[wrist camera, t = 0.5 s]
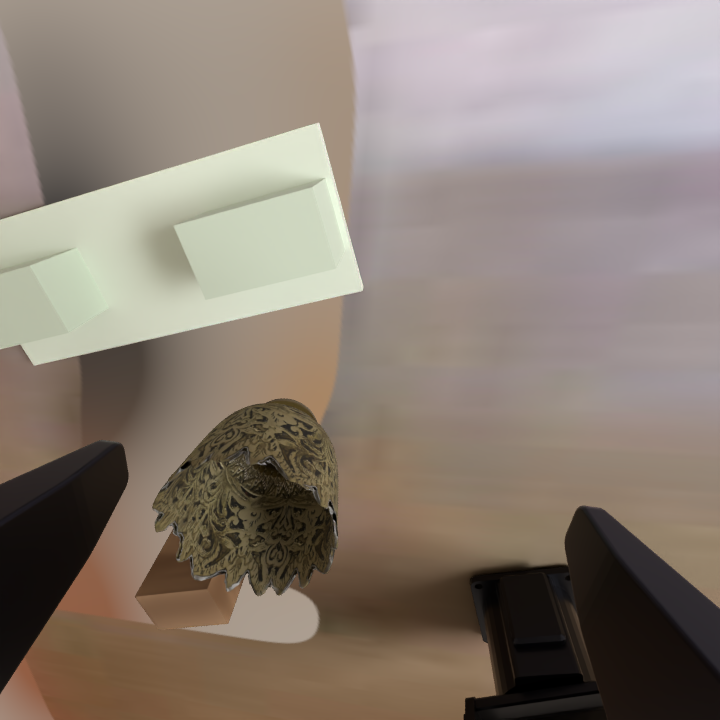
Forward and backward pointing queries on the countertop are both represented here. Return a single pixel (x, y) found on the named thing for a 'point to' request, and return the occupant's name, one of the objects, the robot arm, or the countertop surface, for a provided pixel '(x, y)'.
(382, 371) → the countertop surface
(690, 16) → the countertop surface
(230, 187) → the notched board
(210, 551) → the cup
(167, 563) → the brown rectangular block
